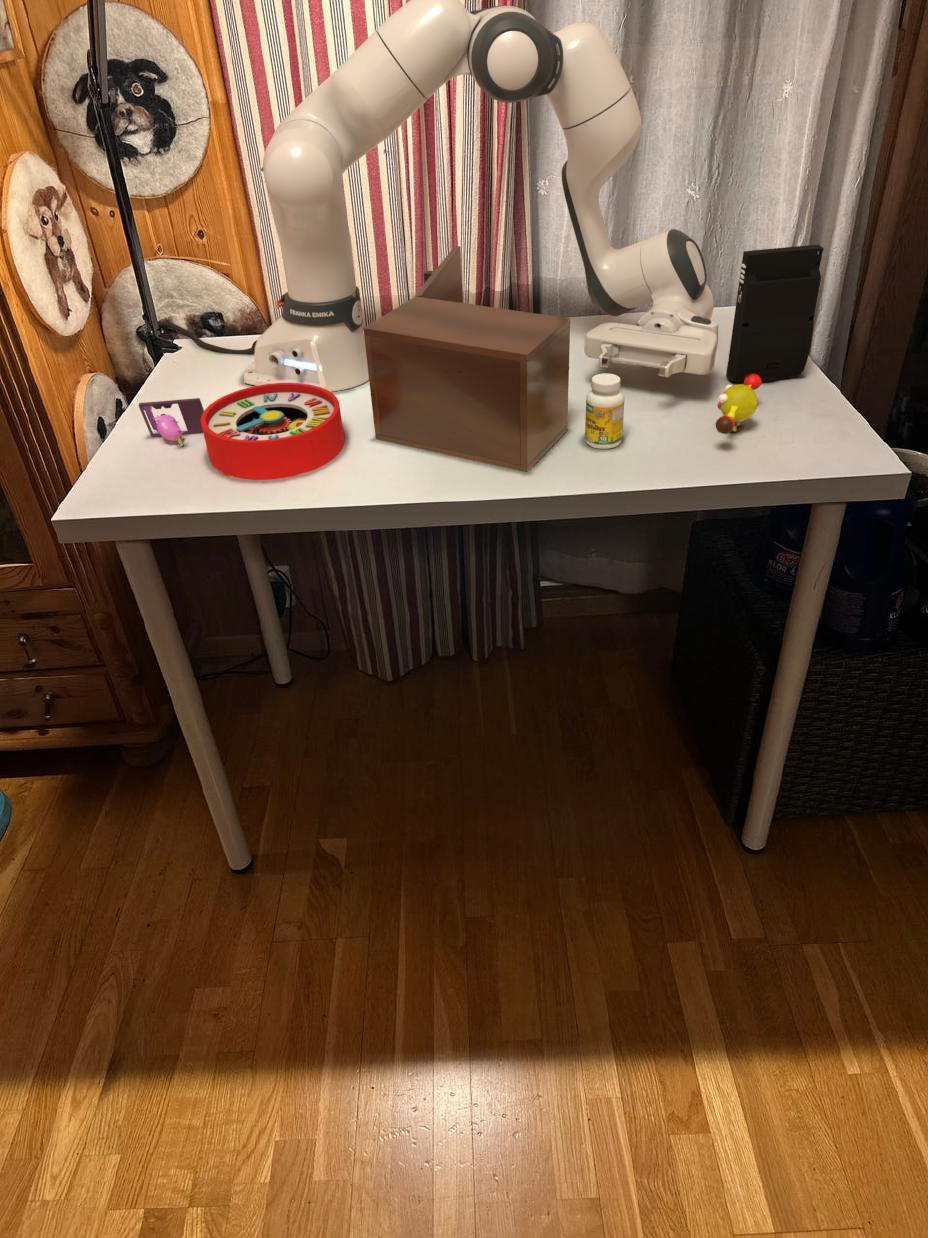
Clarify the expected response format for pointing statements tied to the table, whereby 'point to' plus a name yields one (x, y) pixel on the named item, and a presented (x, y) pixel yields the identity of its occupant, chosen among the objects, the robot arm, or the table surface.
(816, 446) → the table surface
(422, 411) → the cabinet
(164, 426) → the pink toy with backboard
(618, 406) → the supplement bottle
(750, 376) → the toy figure
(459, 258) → the cabinet door
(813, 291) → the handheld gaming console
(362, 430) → the table surface
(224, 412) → the toy clock
